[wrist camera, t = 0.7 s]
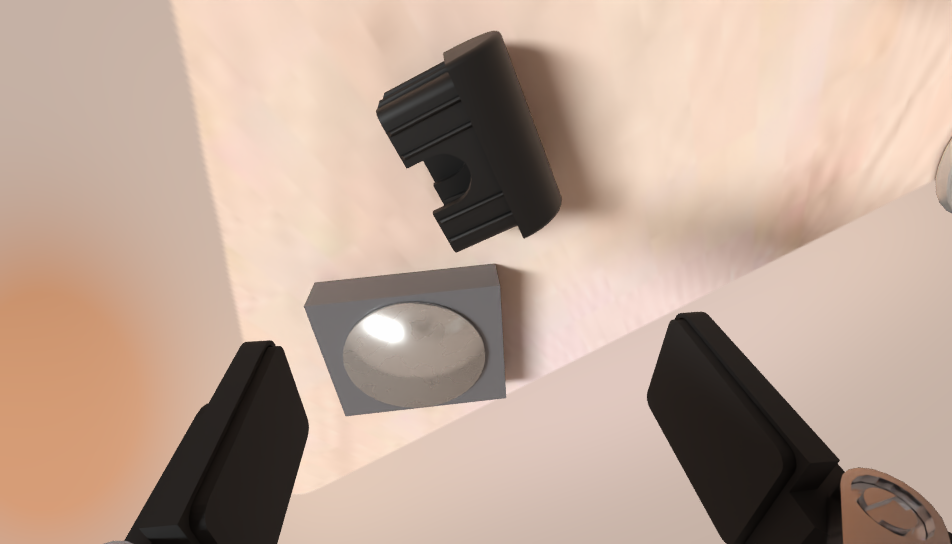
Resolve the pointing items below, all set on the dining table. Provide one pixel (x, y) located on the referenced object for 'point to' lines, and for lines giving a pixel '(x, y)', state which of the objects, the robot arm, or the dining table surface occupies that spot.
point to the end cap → (474, 143)
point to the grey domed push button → (411, 338)
